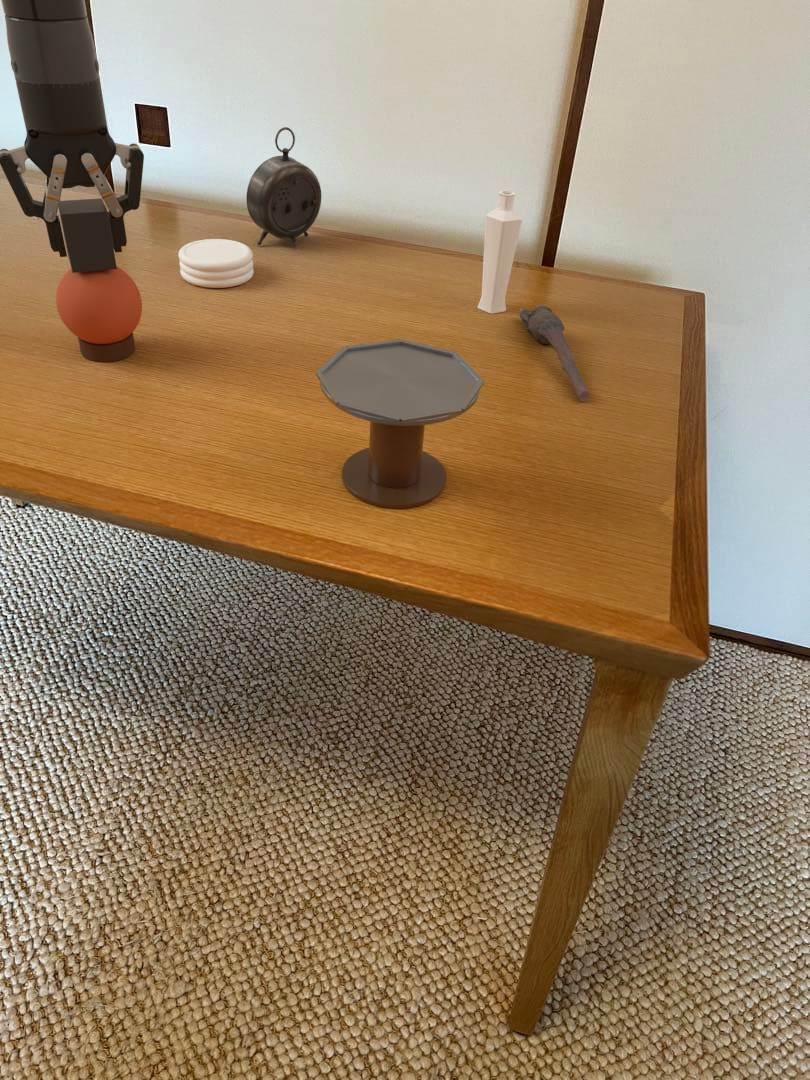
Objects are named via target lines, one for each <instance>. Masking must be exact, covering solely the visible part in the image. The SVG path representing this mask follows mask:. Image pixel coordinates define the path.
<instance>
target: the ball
mask: <svg viewBox="0 0 810 1080" xmlns="http://www.w3.org/2000/svg"><path fill="white" fill-rule="evenodd" d="M55 293H56V294H55V304H56V309H57V313H58V315H59V318H60V320H61V321H62V323H63V324H64V326H65V327H66V328H67V329H68V330H69V332H71V333H72V334H73V335H74V336H76V337H77V339H78V345H79V350H80V353H81V356H82V357H83V358H84V359H87V360H88V361H92V362H99V363H112V362H118V361H121V360H124V359H127V358H129V357H130V356H132V355H133V354H134V353H135V352H136V343H135V337H134V331H135V330H136V329H137V327H138V325H139V323H140V321H141V318H142V314H143V302H142V301H143V300H142V296H141V293H140V290H139V288H138V286H137V284H136V283H135V281H134V279H133V278H132V277H131V276H130V274H128V273H127V272H126V271H125V270H123V269H122V268H120V267H118V266H117V269H111V270H99V271H88V272H76V273H73V272H72V269H71V268H69V269H68V270H67V271H66V272H65V273H64V274H63V276H62V277H61V278H60V280H59V282H58V285H57V288H56V292H55Z"/></svg>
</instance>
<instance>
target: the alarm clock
mask: <svg viewBox="0 0 810 1080" xmlns="http://www.w3.org/2000/svg"><path fill="white" fill-rule="evenodd" d="M285 130H286V131H288V132H290V134H291V136H292V143H291V146H290V147H289V148H287V147H284V148H282V149H281V148H280V147H279V144H278V138H279V136H280V134H281V133H282V132H283V131H285ZM295 143H296V136H295V133H294V131H293V129H291V128H290V127H287V126H284V127H281V128H280V129H278V131H277V132H276V134H275V138H274V144H275V147H276V149H277V150H278V151H279V152H280V153H282V155H275V156H272V157H270V158H268V159H267V160H264V161H263V162H262V163H260V165H258V167H257V168H256V169H255V170H254V172H253V173H252V175H251V177H250V179H249V182H248V185H247V191H246V196H245V197H246V199H245V200H246V209H247V211H248V215H249V217H250V218H251V220H252V222H254V224H255V225H256V226H257V227H259V228H260V229H262V233H261V235H260V238H259V240H257V245H258V246H261V245H262V242H263V241H264V240H265V239H266V237H267V236H268V234H270V235H271V236H273V237H274V238H277V239H281V240H290V243H291V246H292V247H293V248H296V247H297V243H296V238H297V237H299V236H301V235H304V237H306V238H307V237H309V233H308V230H309V229H310V228H311V227H312V225H313V224H314V222H315V221H316V219H317V218H318V216H319V212H320V209H321V205H322V188H321V184H320V181H319V179H318V177H317V175H316V173H315V172H314V171H313V170H312V169H311V168H310V167H308V166H307V165H305V164H304V163H301V162H300V161H298V160H296V159H294V158H293V157H291V156H289V154H290V151H292V150H293V147H294V146H295Z"/></svg>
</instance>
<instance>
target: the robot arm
mask: <svg viewBox="0 0 810 1080" xmlns="http://www.w3.org/2000/svg"><path fill="white" fill-rule="evenodd" d="M1 4H2V10H3V14H4V21H5V28H6V40H7V41H6V42H7V46H8V52H9V55H10V66H11V70H12V72H13V76H14V80H15V84H16V90H17V94H18V99H19V104H20V108H21V112H22V117H23V122H24V127H25V131H26V137H25V140H24V144H23V146H19V147H17V148H12V149H7V148H1V149H0V167H1V169H2V171H3V174H4V175H5V177H6V180H7V182H8V183H9V185H10V188H11V190H12V192H13V194H14V197H15V198H16V200H17V202H18V204H19V206H20V208H21V210H22V212H23V213H24V216H26V217H28V218H32V217H36V218H39V219H41V220H42V221H43V222H44V223H45V227H46V231H47V236H48V240H49V241H48V242H49V245H50V248H51V250H52V252H53V253H58V254H59V257H60V258H68V253H67V248H66V243H65V238H64V233H63V228H62V223H61V219H60V215H58V212H59V208H58V205H59V201H61V199H62V198H61V197H62V192H63V189H72V188H75V187H84V188H96V190H97V191H98V194H100V197H101V198H102V200H103V202H104V204H105V206H106V208H107V209H108V211H107V212H108V218H109V224H110V230H111V236H112V242H113V248H114V254H115V253H123V247H126V246H127V244H128V239H127V233H126V225H125V218H124V216H125V214H126V213H127V212H130V211H136V210H138V209H139V208H140V206H141V205H140V204H141V192H142V182H143V172H144V162H145V154H144V152H143V151H142V149H141V147H140V146H139V145H138V144H137V143H130V144H128V145H127V144H123V143H119V142H118V143H117V142H115V141H114V139H113V138H112V136H111V135H110V131H109V129H108V120H107V115H106V108H105V102H104V97H103V88H102V82H101V77H100V63H99V60H98V57H97V51H96V45H95V42H94V41H95V40H94V38H93V34H92V31H91V27H90V24H89V23H90V22H89V18H88V16H87V15H88V13H87V7H86V1H85V0H1ZM115 156H118V158H119V161H120V164H121V165H122V167H123V168H124V169H125V183H124V194H123V195H120V196H118V197H117V196H116V194H115V192H114V190H113V189H112V186H111V185H110V183H109V181H108V179H107V177H106V173H107V171H108V169H109V168H110V165H112V162H113V160H114V158H115ZM28 159H29V160H30V161H31V162H32V163H33V164H34V165H35V166H36V167H37V168H38V169H39V170H40V171H41V172H42V173H43V175H45V182H44V190H43V191H44V192H43V198H42V201H40V200H37V199H34V198H33V196H32V194H31V193H30V190H29V188H28V186H27V183H26V182H25V179H24V177H23V174H25V172H26V170H27V167H26V161H27V160H28Z"/></svg>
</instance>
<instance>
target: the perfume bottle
mask: <svg viewBox="0 0 810 1080" xmlns="http://www.w3.org/2000/svg"><path fill="white" fill-rule="evenodd" d="M516 195H517V194H516V192H515V191H513V190H508V189H507V190H506V189H501V190H499V191H498V201H497V207H496V208H494V209H492V210H491V211H489V212H488V213H486V214H485V223H484V225H485V226H484V240H483V243H484V244H483V259H482V262H483V263H482V279H481V280H482V281H481V297H480V300H479V302H478V304H477V307H476V308H477V309H479V310H481V311H483V312H485V313H488V314H492V315H493V314H497V313H504V312H507V308H506V306H507V305H506V295H507V290H508V286H509V281H510V277H511V273H512V269H513V263H514V259H515V254H516V249H517V245H518V240H519V237H520V231H521V226H522V221H523V218H522V216H521V215H520V214H519V213H518V212H517V211H516V210H515V209H514V203H515V197H516Z"/></svg>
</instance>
